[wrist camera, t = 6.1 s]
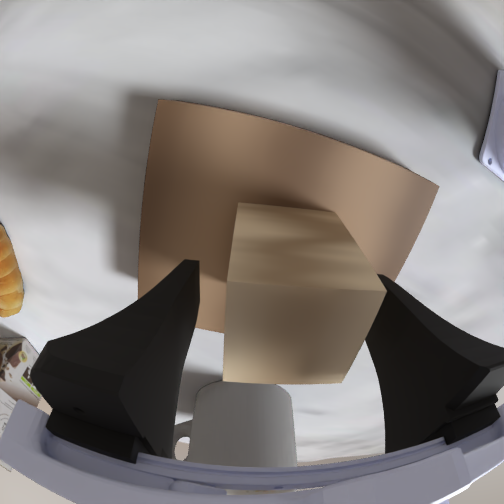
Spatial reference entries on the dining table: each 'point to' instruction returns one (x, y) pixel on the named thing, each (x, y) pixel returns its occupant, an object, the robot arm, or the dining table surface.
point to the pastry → (9, 278)
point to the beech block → (295, 297)
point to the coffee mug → (241, 428)
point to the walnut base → (262, 194)
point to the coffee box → (15, 379)
